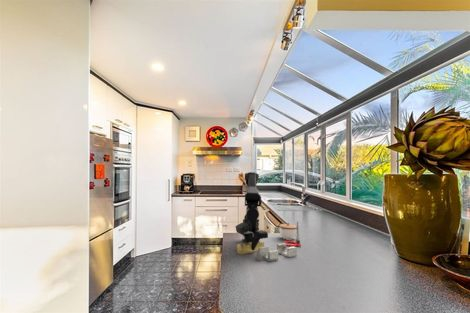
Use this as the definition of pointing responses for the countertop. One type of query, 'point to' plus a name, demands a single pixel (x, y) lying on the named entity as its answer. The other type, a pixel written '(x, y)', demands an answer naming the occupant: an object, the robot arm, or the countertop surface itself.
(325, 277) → the countertop surface
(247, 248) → the link
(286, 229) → the lidded jar
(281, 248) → the chain ends
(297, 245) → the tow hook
